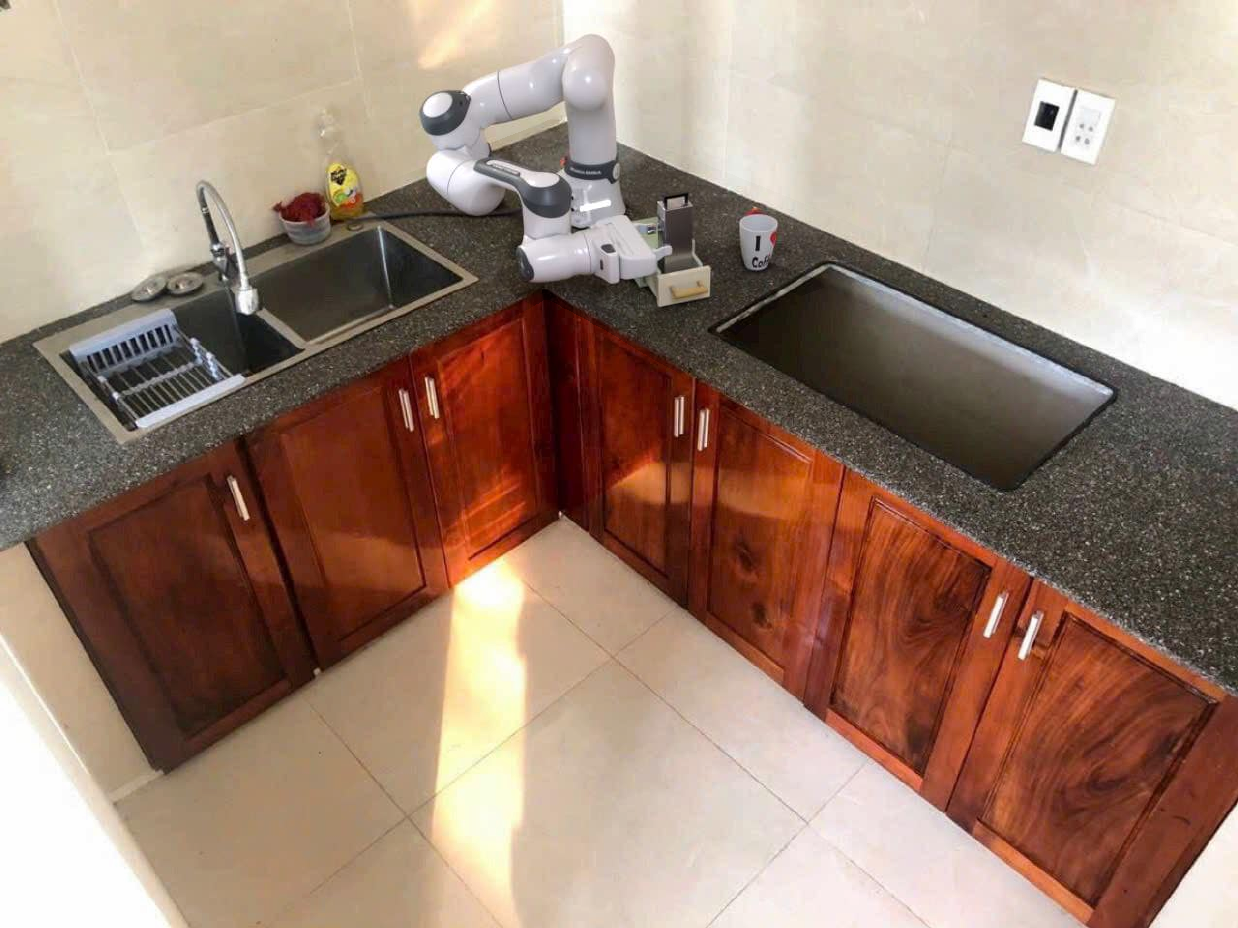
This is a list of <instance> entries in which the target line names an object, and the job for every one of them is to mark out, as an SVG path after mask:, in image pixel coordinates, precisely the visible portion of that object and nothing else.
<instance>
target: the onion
mask: <svg viewBox="0 0 1238 928" xmlns="http://www.w3.org/2000/svg"><path fill="white" fill-rule="evenodd" d="M756 214H760V215H766V214H765V213H764V212H763V211H761V210H760V209H759V208H758V207H757V206H755V205H753V206H752V209H751V210H750V211H748V212H747V213H745V215H744V217H746V216H749V215H756Z"/></svg>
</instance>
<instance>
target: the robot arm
mask: <svg viewBox="0 0 1238 928" xmlns="http://www.w3.org/2000/svg"><path fill="white" fill-rule="evenodd" d="M615 68H616V57H615V53H614V50H613V48H612V46H611V45H610V43H609V42H608V41H607V39H606V38H604V37H603V36H601V35H599V34H594V33H589V34H584V35H583V36H581V37H579V38H577V39H576V40H574V41H572V42H569V43H567V44H564V45H562V46H559V47H558V48H555V49H553V50H551V51H549V52H547V53H545V54H543V55H541V56H539V57H537V58H534V59H532V60H529V61H526V62H523V63H520V64H519V63H518V64H515V65H513V66H510V67H506V68H503V69H499V70H496V71H493V72H490V73H487V74H485V75H483V76H481V77H479V78H476V79H474V80H473V81H470V82H469V83H468V84H465V86H464V87H462V89H446V90H439V91H436V92H434V93H431V94H430V95H429V96H428V97H427V98H425V100H424V101H423V102H422V104H421V106H420V108H419V110H418V111H419V112H418V114H419V120H420V123H421V126H422V128H423V131H424V132H425V133H427V136H428V138H429V140H430V142H431V143H432V146H433V147H434V149H435V150H436V152H435V153H434V154H433V155H432V156H431V157H430V159H429V160H428V162H427V165H426V169H425V170H426V173H425V174H426V179H427V181H428V183H429V184H430V187H432V188H433V189H434V190H435V192H437V194H439V195H440V196H441V197H442V198H443V199H444V200H445V201H447V202H448V203H450V204H451V205H452V206H454V207H455V208H457V209H458V210H450V209H449V210H446V209H443V210H440V209H439V210H438V209H431V210H430V209H428V210H427V209H426V210H408V211H399V212H390V213H383V214H376V215H370V216H360V217H361V218H357V219H354V220H353V219H350V220H351V221H356V222H357V221H359V222H360V221H371V220H377V219H383V218H384V219H385V218H390V217H391V218H392V217H400V216H411V215H429V214H430V215H432V214H433V215H434V214H437V215H438V214H439V215H441V214H442V215H443V214H444V215H461V216H475V217H478V216H501V215H502V216H503V215H509V214H510V215H511V214H516V213H520V212H522V218H523V219H522V220H523V233H524V234H523V238H522V243H521V244H520V245H518V246H517V247H516V251H515V259H516V264H517V266H518V269H519V273H520V275H521V276H522V277H523V278H524V279H525V280H526V281H527V282H529V283H536V284H540V283H541V284H542V283H553V282H559V281H564V280H569V279H571V278H573V277H576V276H590V275H594V276H596V277H599V278H600V279H602V280H604V281H605V282H607V283H609V284H618V283H619V282H620V279H622V280H634V278H639V277H644V276H648V275H651V274H653V273H654V272H655V271H656V270H657V261H658V260H660V259H661V258H662V257H664V256H667V255H671V254H672V247H671V246H670V244H663V245H662V247H661V248H659V249H657V250H656V249H655V248H654V249H651V248H650V247H649V246H648V244H647V243H646V242H645V240H644V239H643V237H642V236H641V235H640V233H647V234H648V235H651V234H655V233H656V226H655V225H654V224H653V223H650V224H642V223H632V222H631V221H632V220H630V218H629V217H628V216H627V215H624V214H625V213H626V211H627V210H626V209H627V208H626V205H625V202H624V200H623V196H622V191H621V185H620V172H621V171H620V167H621V165H620V156H619V152H618V144H617V141H618V140H617V119H616V113H615V101H614V79H615V70H616V69H615ZM562 102H564V111H565V116H566V122H567V132H568V151H567V153H565V154H564V155H563V158H562V159H561V160H560V161H559V162H560V166H563V168H562V169H560V170H559V171H557V172H552V171H546V170H538V169H535V168H531V167H529V166H526V165H523V164H519V163H516V162H515V161H511V160H507V159H506V158H505V159H504V158H501V157H497V156H494V153H493V149H492V147H491V145H490V143H489V142H488V140H487V138H486V135H485V133H484V131H485V130H486V129H487V128H489V127H490V126H494V125H495V126H496V125H500V124H506V123H509V122H513V121H517V120H521V119H525V118H528V117H531V116H535V115H538V114H542V113H546V112H549V111H550V110H551V109H553V108H554V107H556V106H558V104H561V103H562ZM506 190H509V191H511V192H515V193H516V194H517V195H518V197H519V200H520V203H521V207H520V208H515V209H508V210H499V211H494V210H496V209H497V208H498V207H497V206H498V205H499V204H500V205H501V202H502V200H503V199H504V196H505V193H506ZM496 207H497V208H496ZM572 227H575V228H578V229H582V230H578V231H576V232H574V233H572ZM584 228H587V229H584Z"/></svg>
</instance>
